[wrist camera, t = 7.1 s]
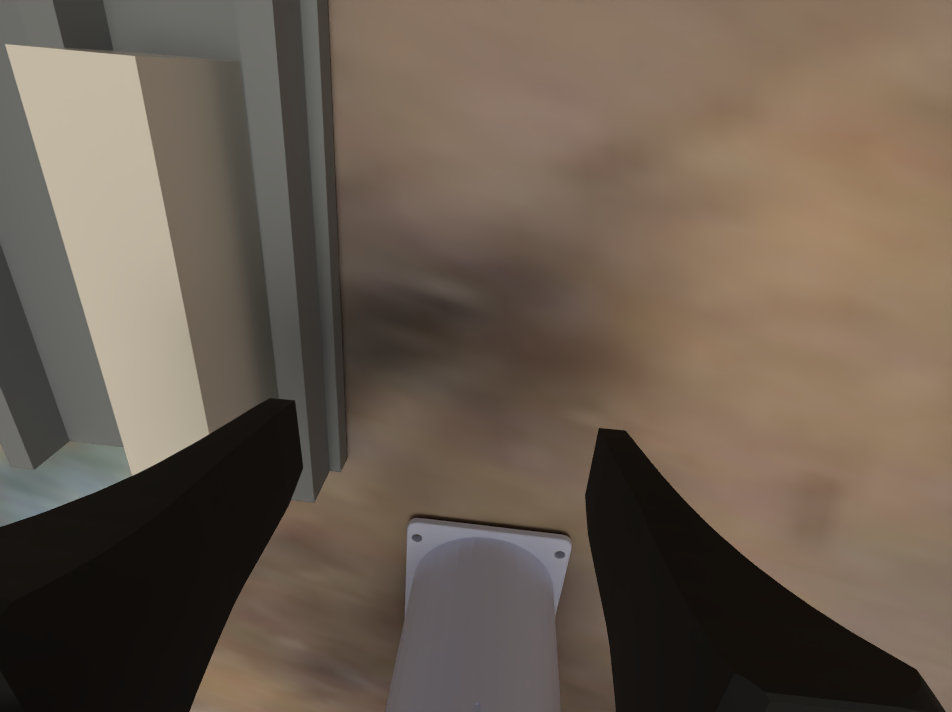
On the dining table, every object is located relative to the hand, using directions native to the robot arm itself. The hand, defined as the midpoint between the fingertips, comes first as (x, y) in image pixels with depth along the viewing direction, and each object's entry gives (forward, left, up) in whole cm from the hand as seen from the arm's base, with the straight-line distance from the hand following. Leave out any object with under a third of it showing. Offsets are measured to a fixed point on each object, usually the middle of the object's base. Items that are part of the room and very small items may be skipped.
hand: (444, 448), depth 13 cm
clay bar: (+1, +9, -8) cm, 12 cm away
